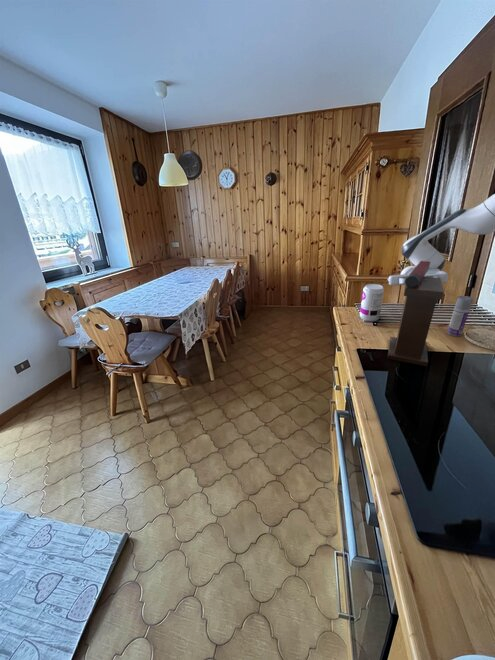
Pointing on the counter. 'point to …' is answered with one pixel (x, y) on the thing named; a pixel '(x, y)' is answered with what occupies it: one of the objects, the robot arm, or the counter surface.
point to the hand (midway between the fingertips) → (419, 280)
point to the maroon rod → (417, 274)
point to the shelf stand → (416, 322)
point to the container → (459, 315)
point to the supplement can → (371, 302)
